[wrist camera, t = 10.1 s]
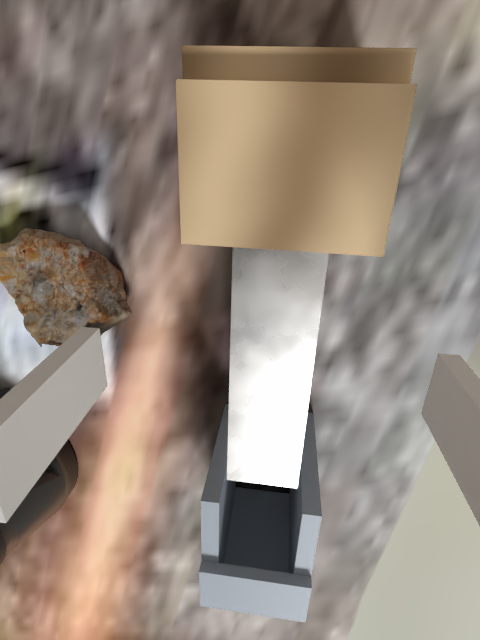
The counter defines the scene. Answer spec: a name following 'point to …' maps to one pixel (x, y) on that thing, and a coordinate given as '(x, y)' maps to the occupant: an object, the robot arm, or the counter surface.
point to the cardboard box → (292, 145)
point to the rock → (61, 285)
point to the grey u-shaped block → (259, 538)
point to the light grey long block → (271, 361)
